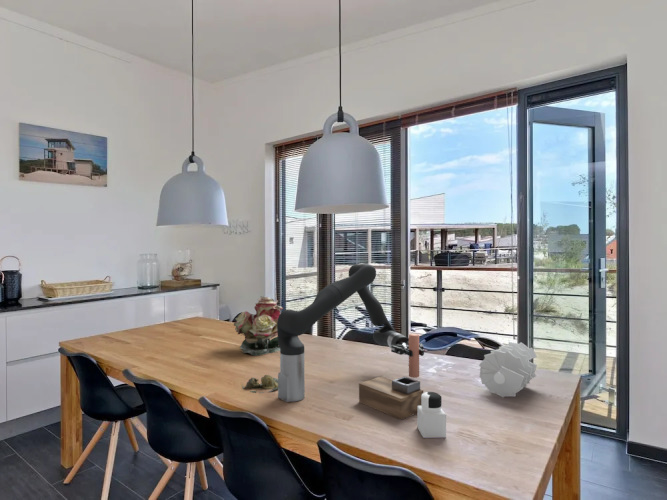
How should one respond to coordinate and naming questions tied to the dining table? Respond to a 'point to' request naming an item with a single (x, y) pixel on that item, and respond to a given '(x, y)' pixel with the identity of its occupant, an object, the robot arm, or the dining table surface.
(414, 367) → the key peg
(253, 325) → the rose bouquet
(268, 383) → the mossy rock cluster
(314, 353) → the dining table surface
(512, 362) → the spiral staircase
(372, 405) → the brown wooden block
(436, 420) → the medicine bottle
